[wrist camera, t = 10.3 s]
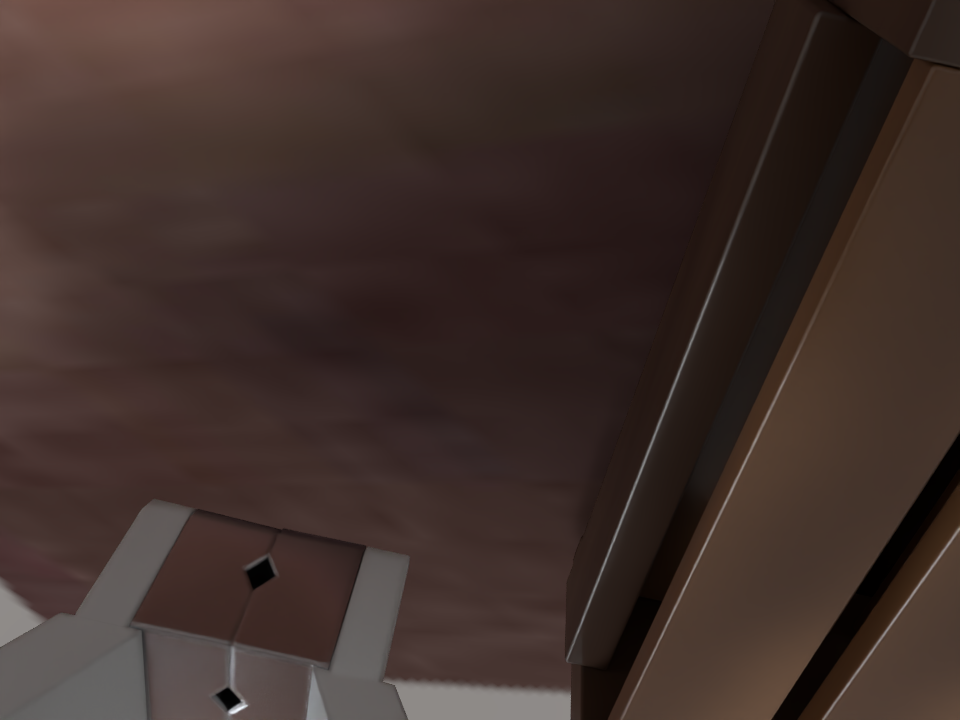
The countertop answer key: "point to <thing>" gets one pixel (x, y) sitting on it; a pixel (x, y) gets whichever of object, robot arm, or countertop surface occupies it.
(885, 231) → the rack
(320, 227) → the countertop surface
